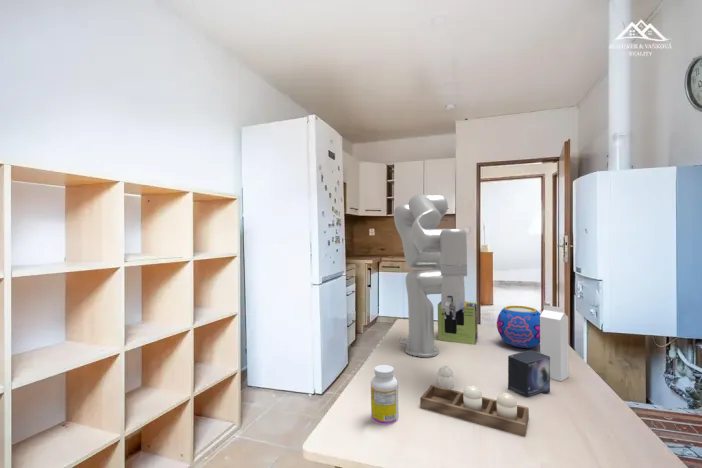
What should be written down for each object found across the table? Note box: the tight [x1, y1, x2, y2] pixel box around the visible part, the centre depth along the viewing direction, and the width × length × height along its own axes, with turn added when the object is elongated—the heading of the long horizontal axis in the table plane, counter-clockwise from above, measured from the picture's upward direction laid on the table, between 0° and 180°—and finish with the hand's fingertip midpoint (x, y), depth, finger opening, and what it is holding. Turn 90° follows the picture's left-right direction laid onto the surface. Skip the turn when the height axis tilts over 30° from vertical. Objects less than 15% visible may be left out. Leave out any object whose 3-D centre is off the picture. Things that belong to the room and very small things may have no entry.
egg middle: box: [462, 384, 483, 412], centre depth 84 cm, size 4×4×7 cm
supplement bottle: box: [370, 364, 399, 426], centre depth 83 cm, size 7×7×13 cm
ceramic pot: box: [496, 305, 542, 349], centre depth 135 cm, size 18×18×15 cm
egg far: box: [496, 392, 518, 421], centre depth 80 cm, size 4×4×7 cm
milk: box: [539, 304, 570, 382], centre depth 107 cm, size 6×6×22 cm
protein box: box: [437, 301, 479, 345], centre depth 145 cm, size 10×15×16 cm
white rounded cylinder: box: [437, 365, 455, 390], centre depth 99 cm, size 4×4×7 cm
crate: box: [419, 384, 530, 438], centre depth 84 cm, size 24×9×3 cm, turn 58°
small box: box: [507, 349, 551, 399], centre depth 96 cm, size 11×6×10 cm, turn 117°
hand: (454, 328), depth 99 cm, fingers open, 9 cm apart
